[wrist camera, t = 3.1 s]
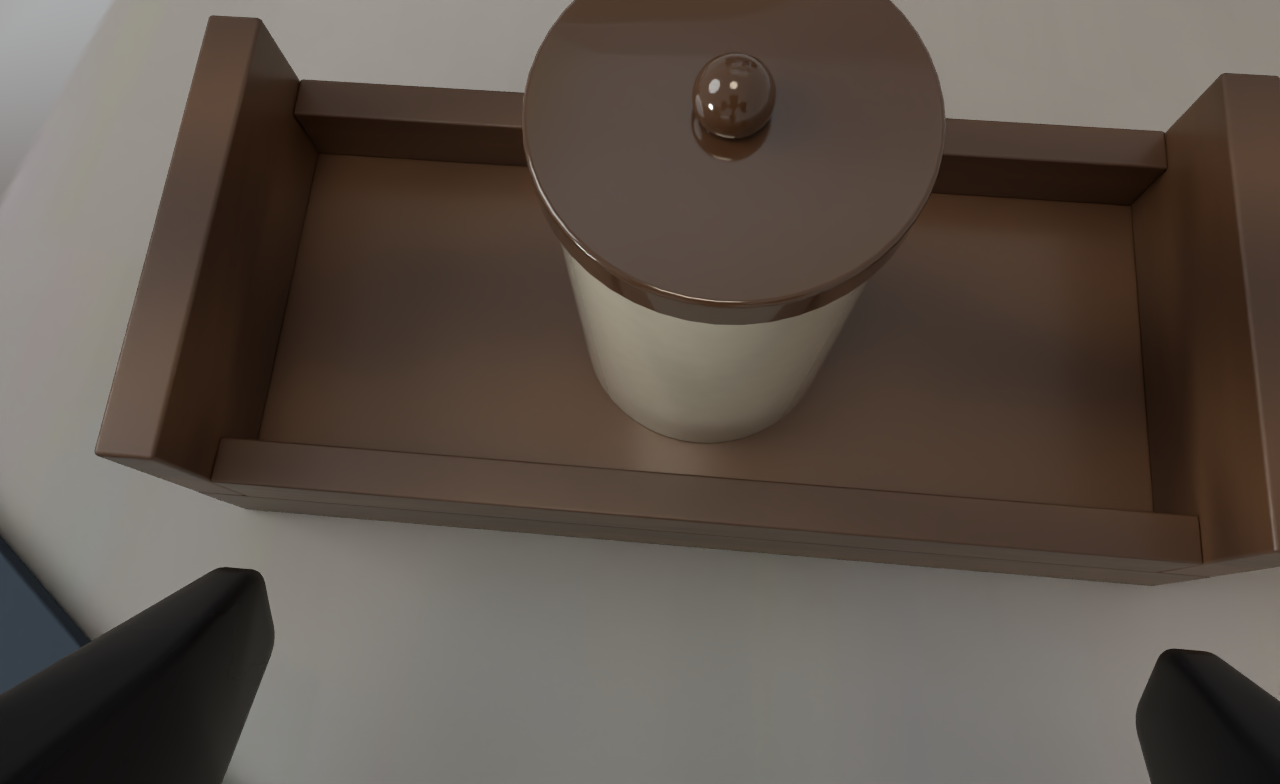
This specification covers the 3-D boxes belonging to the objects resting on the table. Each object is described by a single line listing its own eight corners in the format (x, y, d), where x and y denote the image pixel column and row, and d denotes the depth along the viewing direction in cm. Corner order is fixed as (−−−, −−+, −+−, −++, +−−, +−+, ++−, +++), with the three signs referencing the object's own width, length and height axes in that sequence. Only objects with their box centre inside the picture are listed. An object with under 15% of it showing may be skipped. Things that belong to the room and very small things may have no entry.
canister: (887, 318, 22) (1061, 54, 12) (715, 507, 20) (761, 377, 11) (695, 166, 23) (717, -181, 13) (524, 334, 22) (416, 84, 12)
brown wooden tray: (1153, 586, 22) (1344, 557, 16) (244, 508, 23) (90, 455, 17) (1127, 220, 25) (1280, 74, 19) (316, 167, 26) (208, 13, 20)
